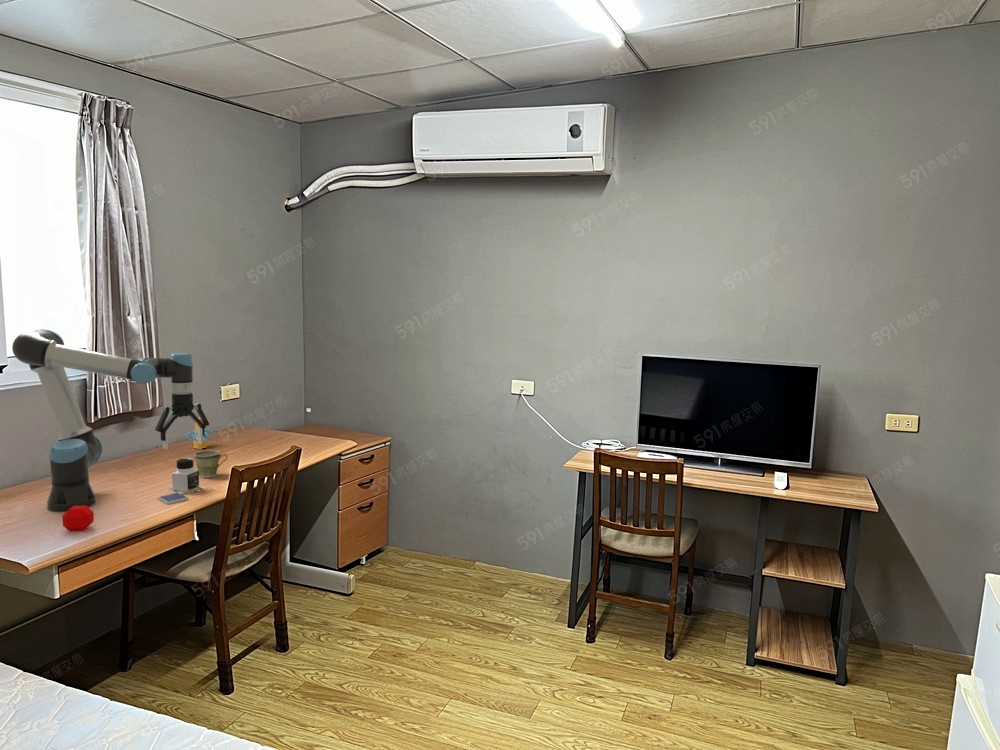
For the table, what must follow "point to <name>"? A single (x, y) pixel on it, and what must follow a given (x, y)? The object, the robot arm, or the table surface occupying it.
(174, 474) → the medicine bottle
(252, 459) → the table surface
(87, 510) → the ball
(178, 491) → the print card
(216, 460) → the ceramic cup
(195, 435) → the cylinder
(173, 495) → the ink pad
